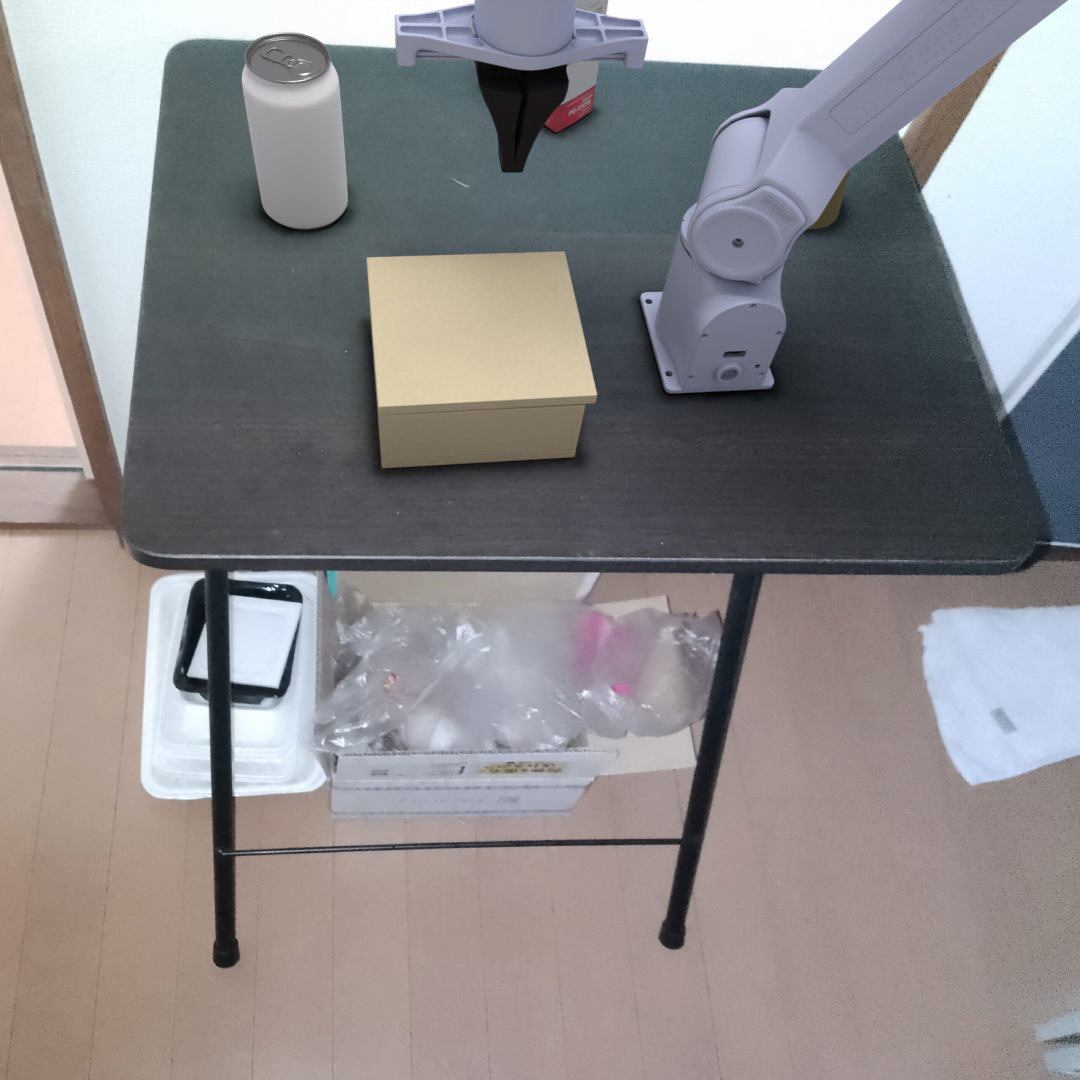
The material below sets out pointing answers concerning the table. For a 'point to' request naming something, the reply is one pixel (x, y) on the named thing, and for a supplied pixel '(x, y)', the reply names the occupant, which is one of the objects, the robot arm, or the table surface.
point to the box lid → (476, 333)
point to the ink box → (578, 82)
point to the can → (296, 129)
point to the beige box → (478, 434)
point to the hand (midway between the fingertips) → (510, 162)
